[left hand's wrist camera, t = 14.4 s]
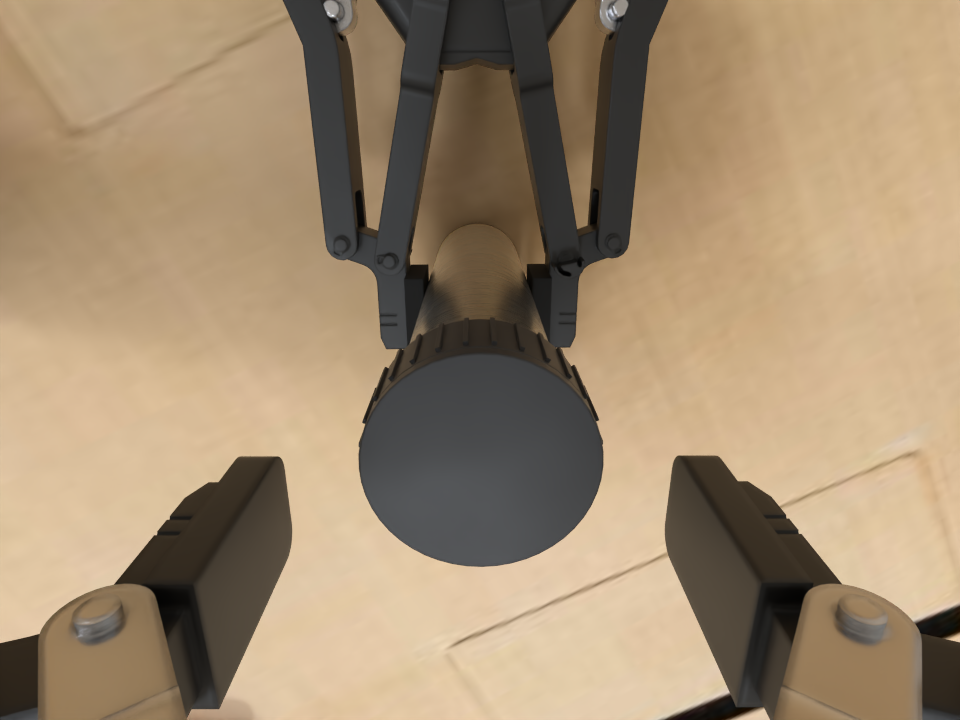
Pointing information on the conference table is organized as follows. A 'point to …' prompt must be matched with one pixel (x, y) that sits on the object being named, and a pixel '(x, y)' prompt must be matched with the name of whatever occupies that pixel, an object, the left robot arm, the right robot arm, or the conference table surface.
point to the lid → (480, 444)
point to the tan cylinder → (477, 282)
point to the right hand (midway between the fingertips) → (478, 412)
